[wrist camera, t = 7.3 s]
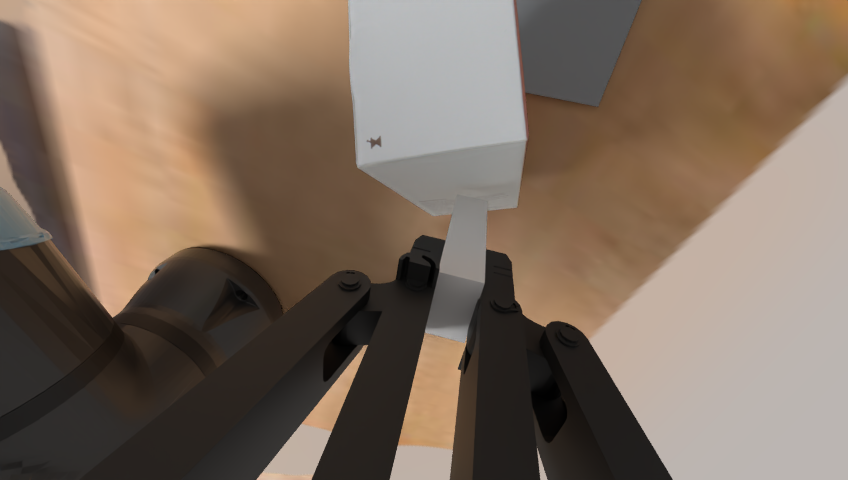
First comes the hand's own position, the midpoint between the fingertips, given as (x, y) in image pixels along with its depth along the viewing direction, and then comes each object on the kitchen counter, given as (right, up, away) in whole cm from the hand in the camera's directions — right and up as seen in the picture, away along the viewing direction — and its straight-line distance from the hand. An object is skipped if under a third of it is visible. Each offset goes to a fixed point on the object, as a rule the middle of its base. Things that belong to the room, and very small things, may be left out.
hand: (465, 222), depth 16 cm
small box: (+1, +5, +8) cm, 10 cm away
